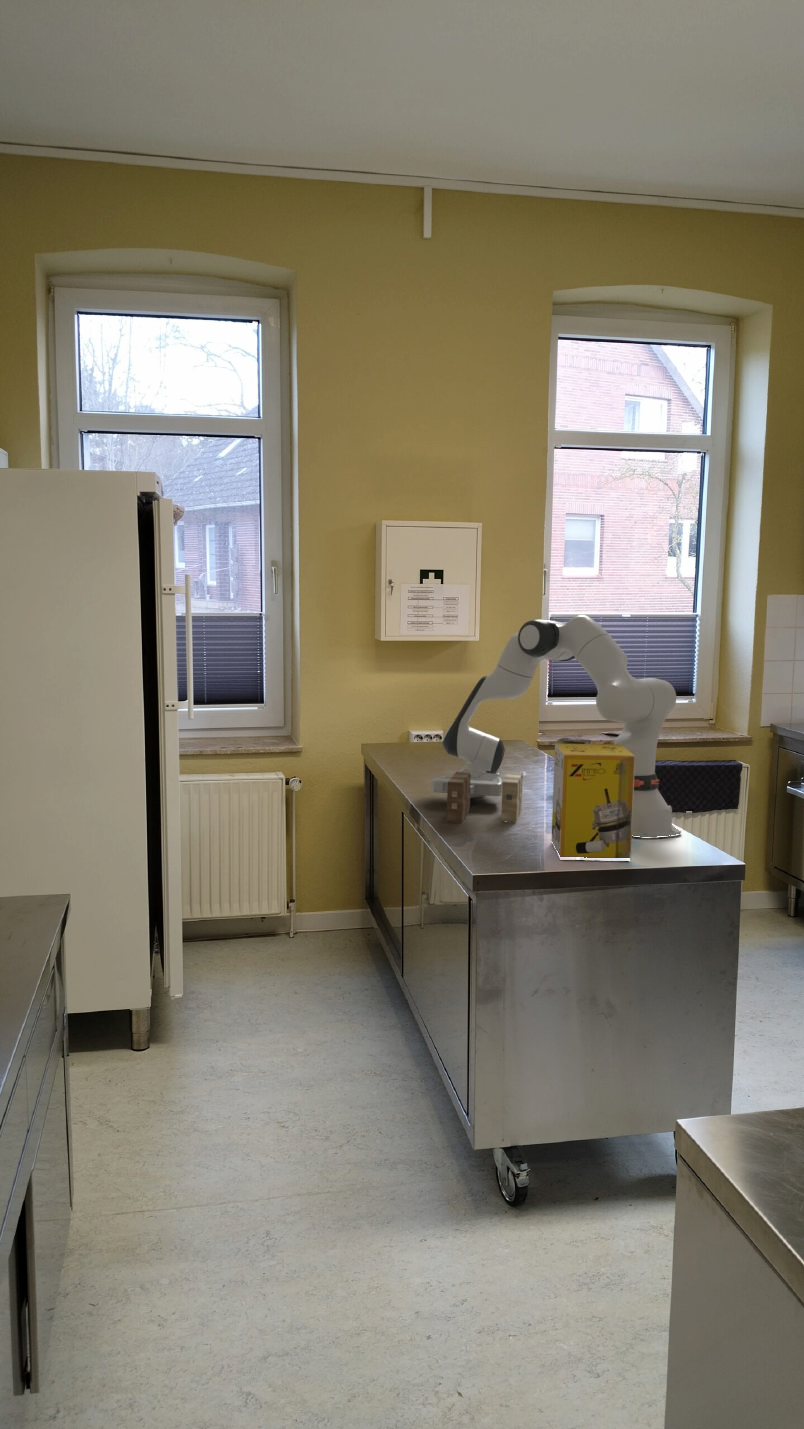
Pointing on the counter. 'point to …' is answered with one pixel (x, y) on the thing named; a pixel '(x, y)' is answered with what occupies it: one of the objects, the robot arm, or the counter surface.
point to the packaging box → (593, 800)
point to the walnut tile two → (458, 797)
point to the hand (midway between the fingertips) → (463, 791)
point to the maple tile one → (511, 797)
